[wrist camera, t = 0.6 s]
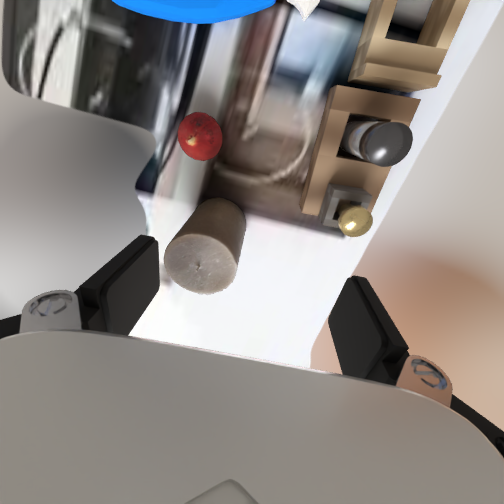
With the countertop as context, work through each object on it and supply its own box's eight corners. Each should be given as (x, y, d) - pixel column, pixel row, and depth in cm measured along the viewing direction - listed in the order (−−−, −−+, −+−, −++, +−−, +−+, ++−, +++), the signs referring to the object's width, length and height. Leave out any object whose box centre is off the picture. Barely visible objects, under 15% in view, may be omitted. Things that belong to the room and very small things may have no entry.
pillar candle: (186, 201, 40) (145, 243, 27) (241, 192, 38) (225, 233, 25) (202, 249, 44) (174, 304, 32) (251, 243, 43) (242, 298, 30)
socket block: (329, 88, 30) (345, 80, 23) (403, 101, 30) (440, 96, 24) (299, 204, 38) (305, 222, 32) (357, 214, 38) (375, 233, 32)
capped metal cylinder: (344, 118, 32) (379, 118, 21) (372, 123, 32) (420, 126, 21) (334, 149, 34) (362, 163, 23) (361, 154, 34) (400, 169, 23)
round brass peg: (337, 195, 30) (347, 206, 26) (364, 200, 30) (377, 211, 26) (329, 220, 31) (336, 234, 28) (354, 225, 31) (365, 239, 28)
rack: (384, -47, 24) (415, -92, 19) (459, -34, 24) (510, -75, 19) (347, 82, 30) (363, 74, 24) (407, 92, 30) (436, 87, 24)
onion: (196, 104, 32) (176, 100, 25) (232, 126, 33) (222, 128, 26) (183, 144, 35) (161, 150, 28) (217, 163, 36) (204, 174, 29)
